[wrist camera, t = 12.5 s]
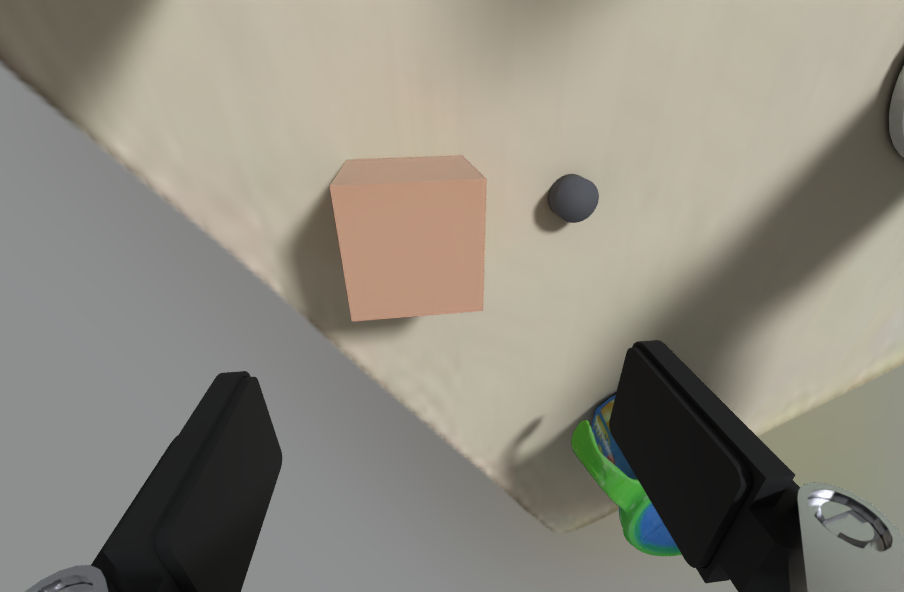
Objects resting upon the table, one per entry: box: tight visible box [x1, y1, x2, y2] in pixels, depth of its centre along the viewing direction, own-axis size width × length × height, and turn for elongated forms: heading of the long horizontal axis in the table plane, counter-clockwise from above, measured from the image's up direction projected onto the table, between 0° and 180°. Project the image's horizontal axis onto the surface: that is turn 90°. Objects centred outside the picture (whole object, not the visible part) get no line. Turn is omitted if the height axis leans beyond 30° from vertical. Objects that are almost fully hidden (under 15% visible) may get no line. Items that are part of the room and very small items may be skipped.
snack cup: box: [571, 395, 682, 556], centre depth 32 cm, size 16×10×10 cm
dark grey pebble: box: [548, 174, 599, 223], centre depth 25 cm, size 3×3×2 cm
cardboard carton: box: [330, 156, 487, 321], centre depth 22 cm, size 7×7×7 cm
